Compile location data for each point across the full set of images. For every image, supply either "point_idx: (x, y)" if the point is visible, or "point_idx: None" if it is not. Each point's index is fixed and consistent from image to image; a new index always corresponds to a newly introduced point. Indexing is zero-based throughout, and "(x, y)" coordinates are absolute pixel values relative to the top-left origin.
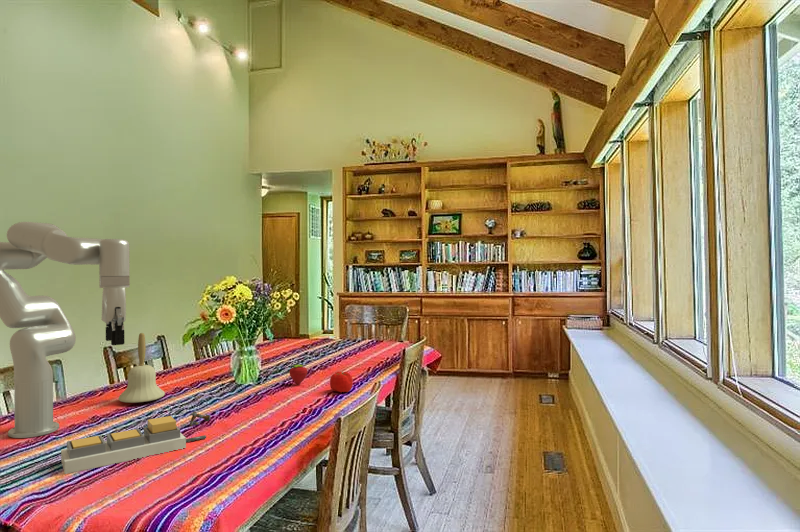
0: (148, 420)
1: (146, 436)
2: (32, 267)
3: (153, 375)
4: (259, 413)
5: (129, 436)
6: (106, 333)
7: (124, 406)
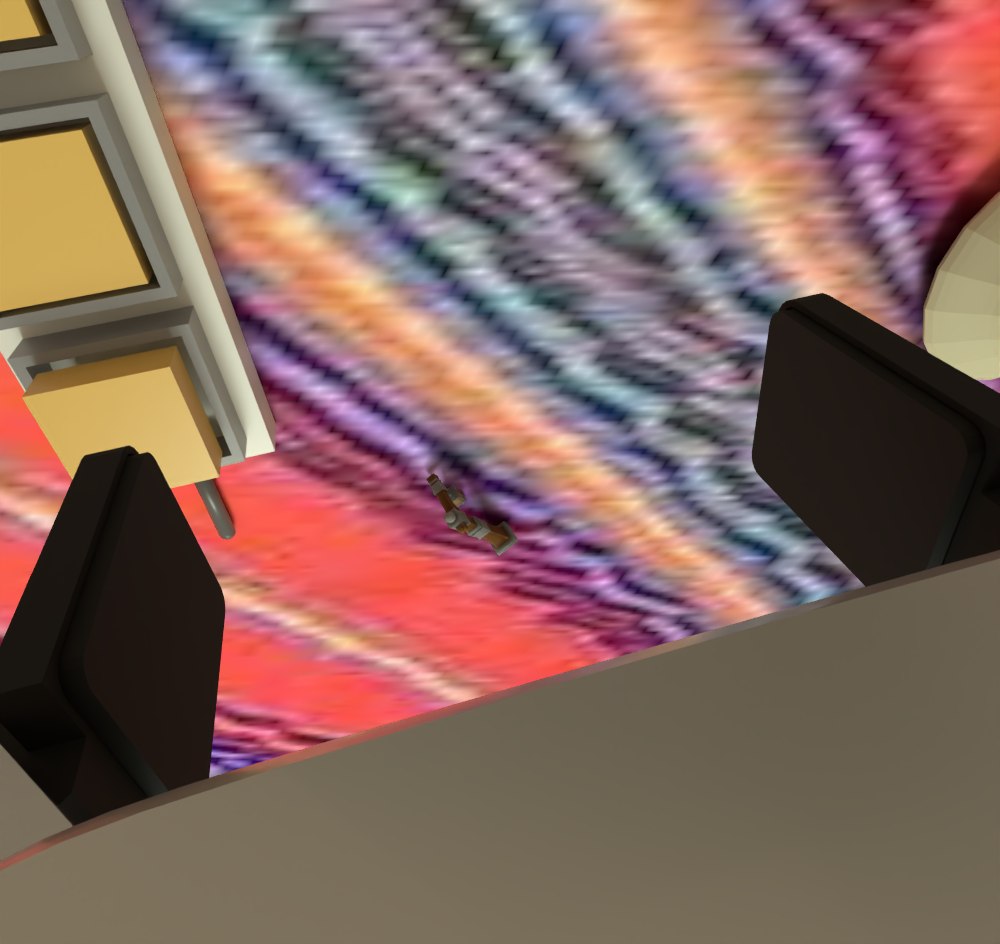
0: (148, 372)
1: (111, 327)
2: None
3: None
4: (487, 679)
5: None
6: (870, 366)
7: (981, 181)
